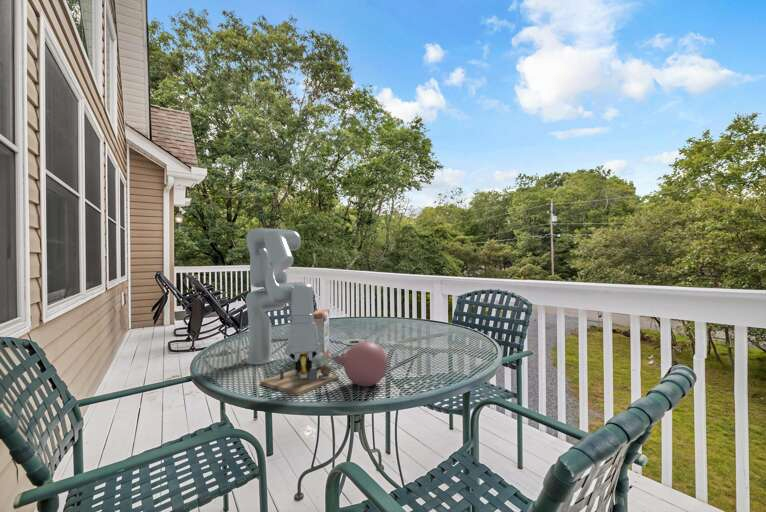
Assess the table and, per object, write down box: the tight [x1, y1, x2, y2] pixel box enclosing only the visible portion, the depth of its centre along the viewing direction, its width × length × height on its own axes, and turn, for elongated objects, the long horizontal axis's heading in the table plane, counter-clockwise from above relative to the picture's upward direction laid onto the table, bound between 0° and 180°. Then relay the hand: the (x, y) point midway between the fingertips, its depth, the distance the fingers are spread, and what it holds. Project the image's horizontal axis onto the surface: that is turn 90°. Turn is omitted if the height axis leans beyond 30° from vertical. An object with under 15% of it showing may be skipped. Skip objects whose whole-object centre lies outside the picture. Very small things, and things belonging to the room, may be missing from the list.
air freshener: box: [306, 342, 327, 369], centre depth 156 cm, size 11×8×10 cm
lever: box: [298, 353, 308, 378], centre depth 137 cm, size 16×4×9 cm, turn 15°
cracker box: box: [313, 308, 330, 357], centre depth 172 cm, size 14×6×21 cm, turn 179°
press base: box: [259, 364, 339, 397], centre depth 137 cm, size 20×20×6 cm
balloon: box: [331, 340, 388, 387], centre depth 133 cm, size 15×20×15 cm
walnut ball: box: [319, 363, 332, 375], centre depth 139 cm, size 4×4×4 cm
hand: (303, 370), depth 131 cm, fingers open, 2 cm apart
